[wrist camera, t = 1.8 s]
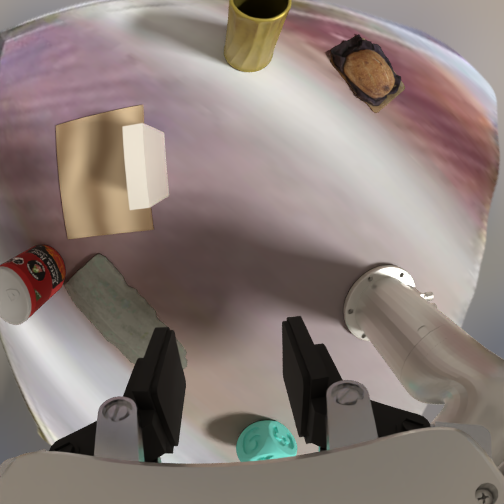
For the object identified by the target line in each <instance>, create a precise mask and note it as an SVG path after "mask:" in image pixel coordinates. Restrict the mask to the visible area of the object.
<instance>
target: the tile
mask: <svg viewBox="0 0 504 504" xmlns="http://www.w3.org/2000/svg"><path fill="white" fill-rule="evenodd" d="M122 128H123V145H124V159H125V171H126V181H127V191H128V200H129V208H130V210H135V209H144V208H150V207H152V206H153V205H155V204H157V203H158V202H160V201H161V200H163V199H165V198H166V197H168V196H169V189H168V179H167V167H166V154H165V140H164V132H161V131H159V130H157V129H155V128H153V127H150V126H148V125H146V124H144V123H140V124H134V125H128V126H123V127H122Z"/></svg>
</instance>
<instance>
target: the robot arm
mask: <svg viewBox="0 0 504 504" xmlns="http://www.w3.org/2000/svg"><path fill="white" fill-rule="evenodd" d="M431 300H433V293H432V292H426V293H423V294H422V293H421V292H419V291H418V290H417V289H416V288H415V284H414V281H413V279H412V277H411V276H410V275H409V274H408V273H407V272H406V271H405V270H403V269H401V268H400V267H397V266H393V265H384V266H379V267H376V268H373V269H371V270H370V271H368V272H366V273H365V274H364V275H362V276H361V277H360V278H359V279H358V280H357V281H356V282H355V283H354V285H353V286H352V288H351V289H350V291H349V293H348V295H347V297H346V300H345V303H344V310H343V313H344V320H345V324H346V326H347V327H348V329H349V330H350V332H351V333H352V334H353V335H354V336H355V337H357V338H359V339H361V340H365V341H371V343H372V344H373V346H374V347H375V348H376V350H377V351H378V352H379V354H380V355H381V356H382V358H383V359H384V360H385V362H386V363H387V365H388V366H389V367H390V369H391V370H392V371H393V373H394V374H395V376H396V377H397V378H398V380H399V381H400V382H401V384H402V385H403V387H404V388H405V389H406V391H407V392H408V393H409V394H410V395H411V396H412V397H413V398H414V399H416V400H418V401H420V402H422V403H427V404H445V405H444V408H443V409H442V411H441V412H440V413H439V414H438V415H437V417H436V418H435V419H434V420H433V422H432V423H431V424H430V423H429V422H428V420H427V419H426V418H424V417H423V416H421V415H418V414H415V413H411V412H408V411H404V410H401V409H398V408H394V407H391V406H388V405H384V404H381V403H378V402H375V401H372V400H370V397H369V393H368V390H367V388H366V387H365V386H364V385H363V384H361V383H359V382H356V381H352V380H342V378H341V376H340V374H339V372H338V370H337V368H336V366H335V364H334V362H333V360H332V358H331V356H330V354H329V353H328V351H327V349H326V347H325V345H324V344H316V345H314V343H313V341H312V339H311V337H310V335H309V333H308V330H307V328H306V326H305V324H304V322H303V320H302V318H301V316H296V317H287V321H283V322H282V344H283V378H284V382H285V386H286V390H287V393H288V397H289V401H290V405H291V409H292V412H293V416H294V420H295V424H296V427H297V431H298V435H299V437H304V438H305V442H306V444H308V443H313V444H315V445H317V446H319V452H315V453H310V454H304V455H298V456H291V457H284V458H277V459H268V460H259V461H248V462H234V463H212V464H176V463H161V458H160V456H162V455H163V454H165V453H173V448H174V446H178V443H179V435H180V427H181V419H182V411H183V404H184V396H185V389H186V381H185V376H184V372H183V368H182V364H181V359H180V355H179V351H178V346H177V342H176V337H175V332H174V330H170V329H169V327H156V328H155V329H154V331H153V334H152V337H151V339H150V342H149V345H148V347H147V350H146V353H145V355H144V358H138V359H137V361H136V363H135V366H134V369H133V371H132V374H131V376H130V379H129V382H128V384H127V387H126V390H125V393H124V395H123V397H113V398H111V399H108V400H106V401H105V402H104V403H103V404H102V405H101V406H100V408H99V411H98V418H97V421H96V422H94V423H92V424H90V425H88V426H86V427H84V428H82V429H80V430H78V431H76V432H74V433H72V434H70V435H68V436H66V437H63V438H61V439H59V440H58V441H56V442H55V443H54V444H53V445H52V446H51V448H50V450H49V451H46V450H45V449H43V450H40V451H37V452H31V453H26V454H23V455H20V456H18V457H14V458H10V459H7V460H5V461H4V462H3V463H2V464H1V466H0V504H504V359H502V358H500V357H499V356H497V355H496V354H494V353H493V352H491V351H489V350H488V349H487V348H485V347H484V346H482V345H481V344H480V343H479V342H477V341H476V340H475V339H474V338H472V337H471V336H470V335H469V334H467V333H466V332H465V331H464V330H463V329H461V328H460V327H459V326H458V325H457V324H455V323H454V322H453V321H452V320H450V319H449V318H448V317H447V316H446V315H444V314H443V313H442V312H441V311H439V310H438V309H437V306H436V304H435V303H429V302H428V301H431Z"/></svg>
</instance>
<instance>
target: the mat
mask: <svg viewBox="0 0 504 504" xmlns="http://www.w3.org/2000/svg"><path fill="white" fill-rule="evenodd" d="M140 123H144V111H143V105H139V106H134V107H128V108H123V109H118V110H114V111H109V112H105V113H101V114H96V115H92V116H88V117H84V118H81V119H77V120H73V121H70V122H66V123H63V124H59V125H56V143H57V160H58V172H59V182H60V191H61V199H62V206H63V213H64V220H65V226H66V231H67V237H68V239H74V238H83V237H91V236H99V235H108V234H117V233H126V232H136V231H145V230H153V229H154V227H153V219H152V211H151V207H150V208H144V209H135V210H130V208H129V200H128V191H127V181H126V171H125V159H124V145H123V128H122V127H123V126H128V125H134V124H140Z"/></svg>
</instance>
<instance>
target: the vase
mask: <svg viewBox="0 0 504 504" xmlns="http://www.w3.org/2000/svg"><path fill="white" fill-rule="evenodd" d="M290 8H291V0H229V11H228V24H227V33H226V43H225V46H224V56H225V58H226V60H227V62H228V63H229V64H230V65H231V66H232V67H234V68H235V69H238V70H240V71H243V72H255V71H259V70H261V69H263V68H265V67H266V66H267V65H268V64H269V63H270V61H271V59H272V56H273V51H274V48H275V45H276V42H277V40H278V37H279V35H280V32H281V30H282V27H283V24H284V22H285V19H286V17H287V15H288V12H289V10H290Z"/></svg>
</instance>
